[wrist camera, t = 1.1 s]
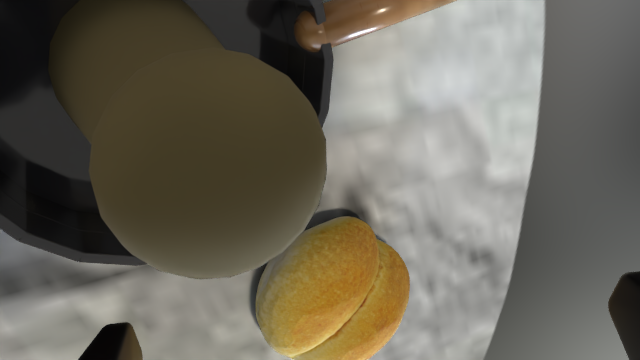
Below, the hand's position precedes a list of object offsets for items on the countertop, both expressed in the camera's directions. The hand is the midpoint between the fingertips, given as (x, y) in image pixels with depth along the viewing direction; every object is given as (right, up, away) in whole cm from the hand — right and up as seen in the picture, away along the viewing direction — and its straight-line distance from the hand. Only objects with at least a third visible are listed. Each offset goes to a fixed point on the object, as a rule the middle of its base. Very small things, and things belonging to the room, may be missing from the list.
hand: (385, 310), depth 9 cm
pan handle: (+1, +10, +11) cm, 15 cm away
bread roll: (-1, -3, +19) cm, 20 cm away
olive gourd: (-8, +6, +10) cm, 14 cm away
